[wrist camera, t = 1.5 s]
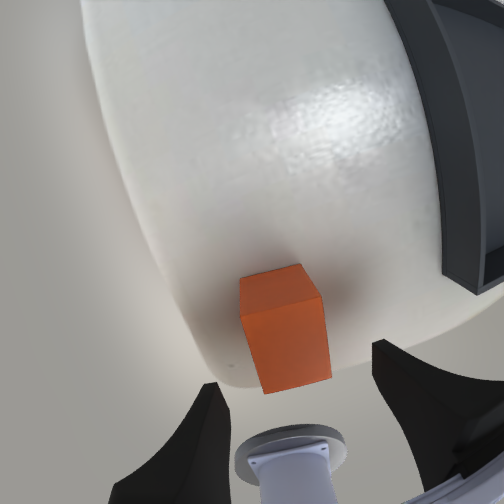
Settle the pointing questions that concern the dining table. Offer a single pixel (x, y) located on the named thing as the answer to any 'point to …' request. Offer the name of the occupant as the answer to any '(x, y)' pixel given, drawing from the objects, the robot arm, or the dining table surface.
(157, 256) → the dining table surface
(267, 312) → the orange block
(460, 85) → the bin
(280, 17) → the dining table surface
